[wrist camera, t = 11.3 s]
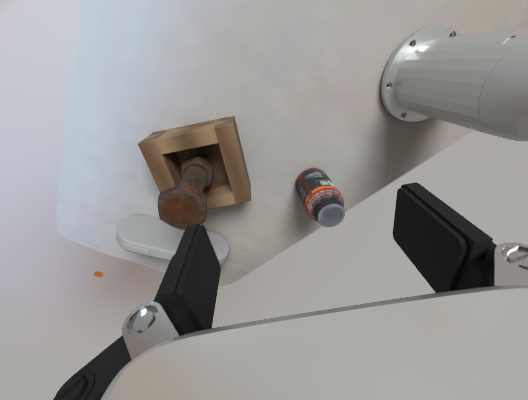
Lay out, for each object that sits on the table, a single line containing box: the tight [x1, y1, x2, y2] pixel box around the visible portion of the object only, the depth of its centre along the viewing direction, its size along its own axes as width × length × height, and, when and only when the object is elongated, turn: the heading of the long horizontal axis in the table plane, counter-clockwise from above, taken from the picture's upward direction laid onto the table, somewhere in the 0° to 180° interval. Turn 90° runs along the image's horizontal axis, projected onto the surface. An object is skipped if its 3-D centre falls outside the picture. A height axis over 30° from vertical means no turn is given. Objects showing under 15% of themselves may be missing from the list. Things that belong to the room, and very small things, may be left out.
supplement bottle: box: [296, 168, 345, 227], centre depth 38 cm, size 6×6×11 cm
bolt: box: [158, 155, 213, 230], centre depth 33 cm, size 6×5×15 cm
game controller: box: [116, 215, 229, 265], centre depth 43 cm, size 20×2×8 cm, turn 69°
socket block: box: [138, 116, 251, 210], centre depth 37 cm, size 13×12×6 cm
